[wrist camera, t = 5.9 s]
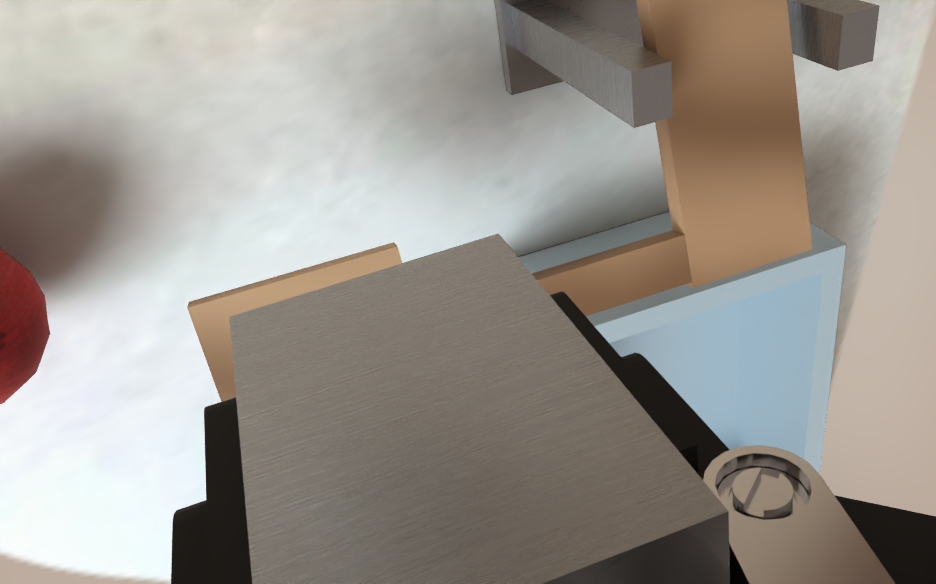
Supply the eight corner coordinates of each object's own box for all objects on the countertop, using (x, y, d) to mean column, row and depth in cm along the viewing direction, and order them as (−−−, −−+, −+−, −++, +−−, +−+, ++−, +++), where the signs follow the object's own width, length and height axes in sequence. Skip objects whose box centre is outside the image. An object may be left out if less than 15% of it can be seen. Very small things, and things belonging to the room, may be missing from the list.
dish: (470, 271, 35) (522, 349, 30) (753, 185, 38) (846, 244, 32) (520, 543, 45) (565, 638, 40) (742, 461, 47) (812, 540, 42)
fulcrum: (488, -44, 29) (614, 11, 21) (702, -94, 30) (899, -61, 22) (506, 90, 32) (623, 186, 23) (702, 38, 33) (877, 111, 25)
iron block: (229, 316, 11) (261, 691, 6) (497, 234, 12) (728, 510, 7) (325, 559, 14) (405, 965, 9) (543, 479, 14) (735, 815, 9)
